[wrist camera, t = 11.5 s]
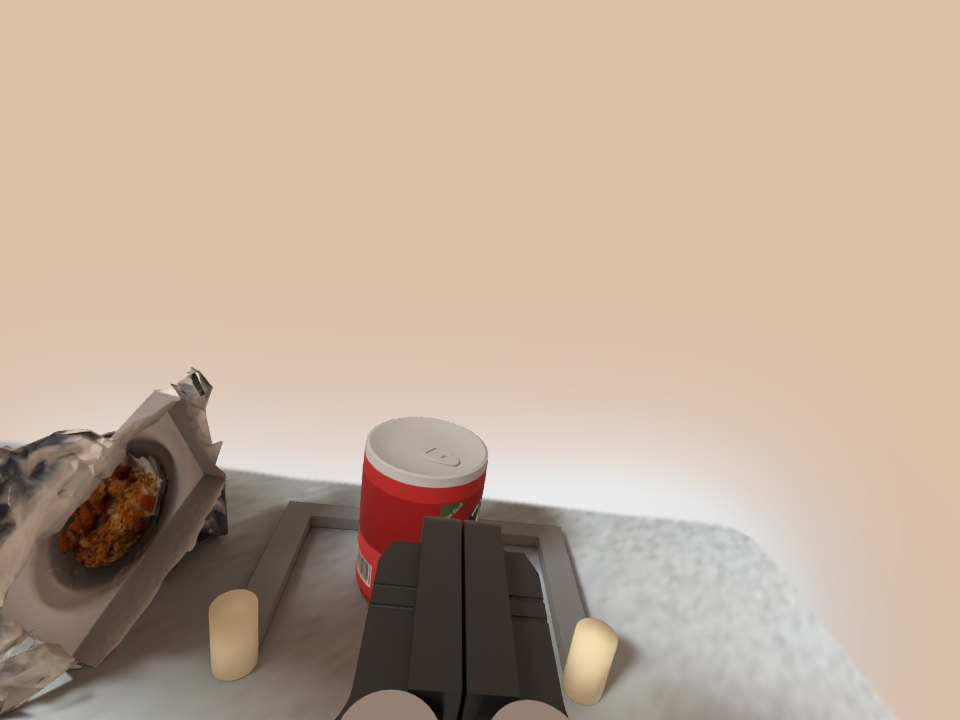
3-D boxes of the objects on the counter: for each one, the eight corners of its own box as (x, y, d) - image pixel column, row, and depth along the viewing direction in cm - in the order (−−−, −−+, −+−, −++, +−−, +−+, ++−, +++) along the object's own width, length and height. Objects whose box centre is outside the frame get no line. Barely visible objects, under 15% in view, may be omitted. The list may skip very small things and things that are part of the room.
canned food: (441, 643, 32) (464, 493, 29) (330, 597, 34) (339, 451, 31) (481, 565, 39) (504, 436, 36) (387, 531, 41) (400, 405, 38)
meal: (176, 525, 39) (166, 361, 34) (229, 539, 38) (226, 374, 34) (-54, 716, 25) (-121, 480, 20) (24, 742, 24) (-27, 505, 20)
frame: (202, 679, 28) (200, 622, 27) (287, 511, 42) (288, 468, 40) (607, 706, 30) (623, 654, 29) (560, 537, 44) (569, 496, 42)
